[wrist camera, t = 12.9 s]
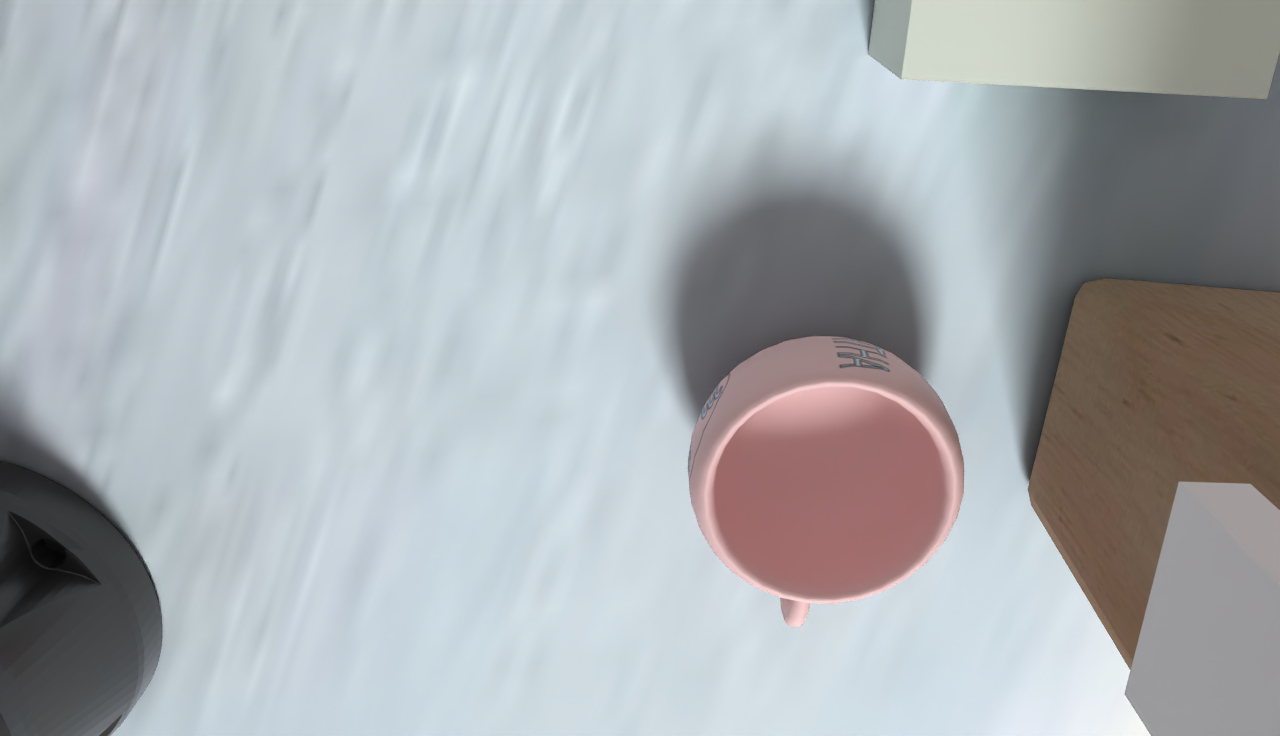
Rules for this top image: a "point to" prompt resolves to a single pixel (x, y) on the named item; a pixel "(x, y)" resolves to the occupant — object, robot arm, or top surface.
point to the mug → (824, 471)
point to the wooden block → (1152, 427)
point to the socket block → (1084, 44)
